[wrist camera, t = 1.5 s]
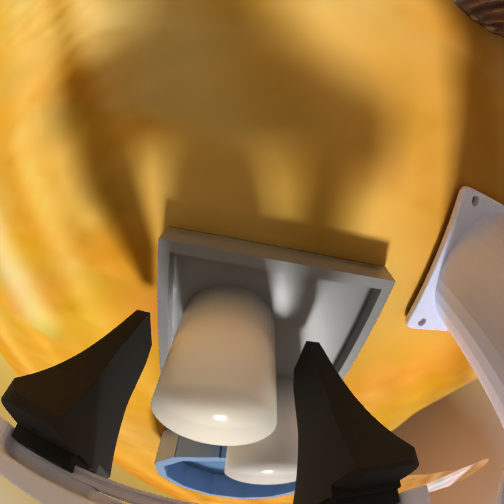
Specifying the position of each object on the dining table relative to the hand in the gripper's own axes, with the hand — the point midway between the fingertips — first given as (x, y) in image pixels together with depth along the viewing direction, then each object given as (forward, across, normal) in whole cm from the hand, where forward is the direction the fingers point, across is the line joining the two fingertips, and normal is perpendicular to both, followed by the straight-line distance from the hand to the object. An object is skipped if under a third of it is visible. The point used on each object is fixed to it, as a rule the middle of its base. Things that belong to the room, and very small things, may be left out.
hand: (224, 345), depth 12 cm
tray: (+2, -2, +2) cm, 3 cm away
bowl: (+2, -3, +17) cm, 17 cm away
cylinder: (+2, -3, +6) cm, 7 cm away
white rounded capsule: (+2, 0, 0) cm, 2 cm away
